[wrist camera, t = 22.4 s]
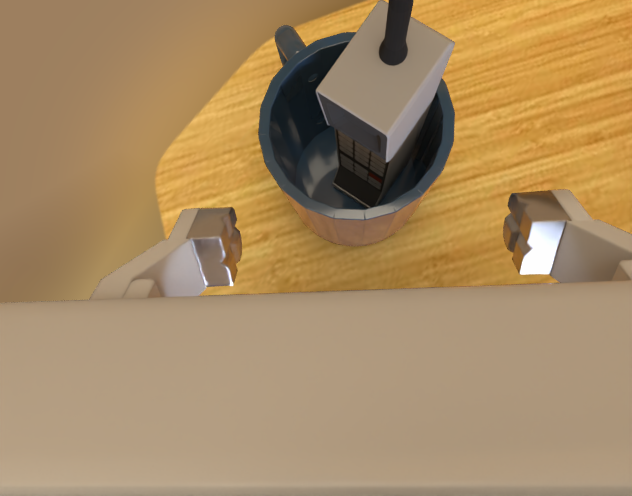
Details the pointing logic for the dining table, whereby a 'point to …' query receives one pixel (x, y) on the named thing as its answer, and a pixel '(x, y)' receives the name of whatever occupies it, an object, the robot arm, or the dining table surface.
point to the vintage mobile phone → (381, 98)
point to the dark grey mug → (321, 151)
